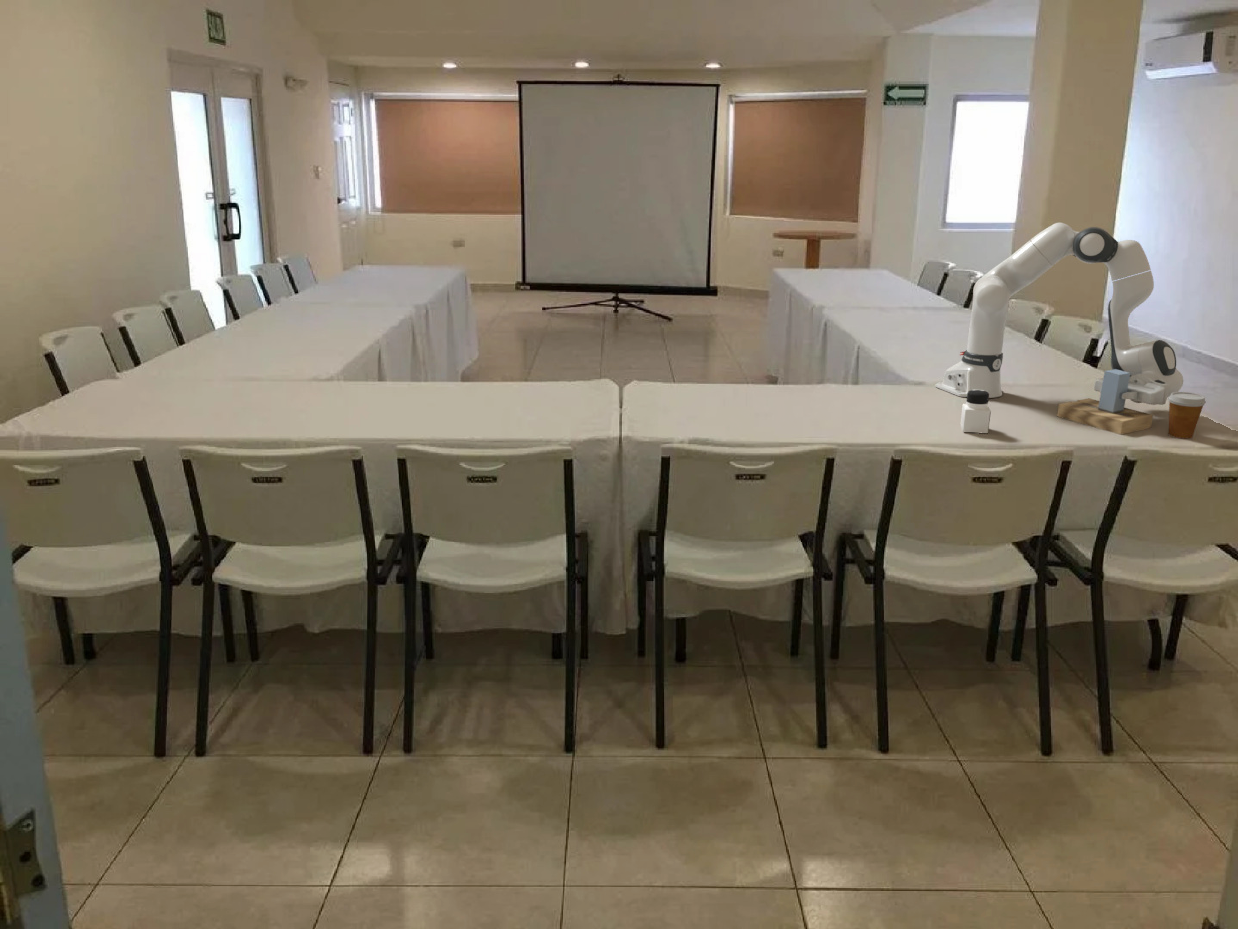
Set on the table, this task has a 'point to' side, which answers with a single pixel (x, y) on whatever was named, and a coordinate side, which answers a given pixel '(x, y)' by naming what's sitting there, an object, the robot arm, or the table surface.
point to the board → (1105, 417)
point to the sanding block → (1113, 391)
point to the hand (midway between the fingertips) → (1111, 393)
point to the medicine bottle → (976, 412)
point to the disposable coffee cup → (1184, 413)
